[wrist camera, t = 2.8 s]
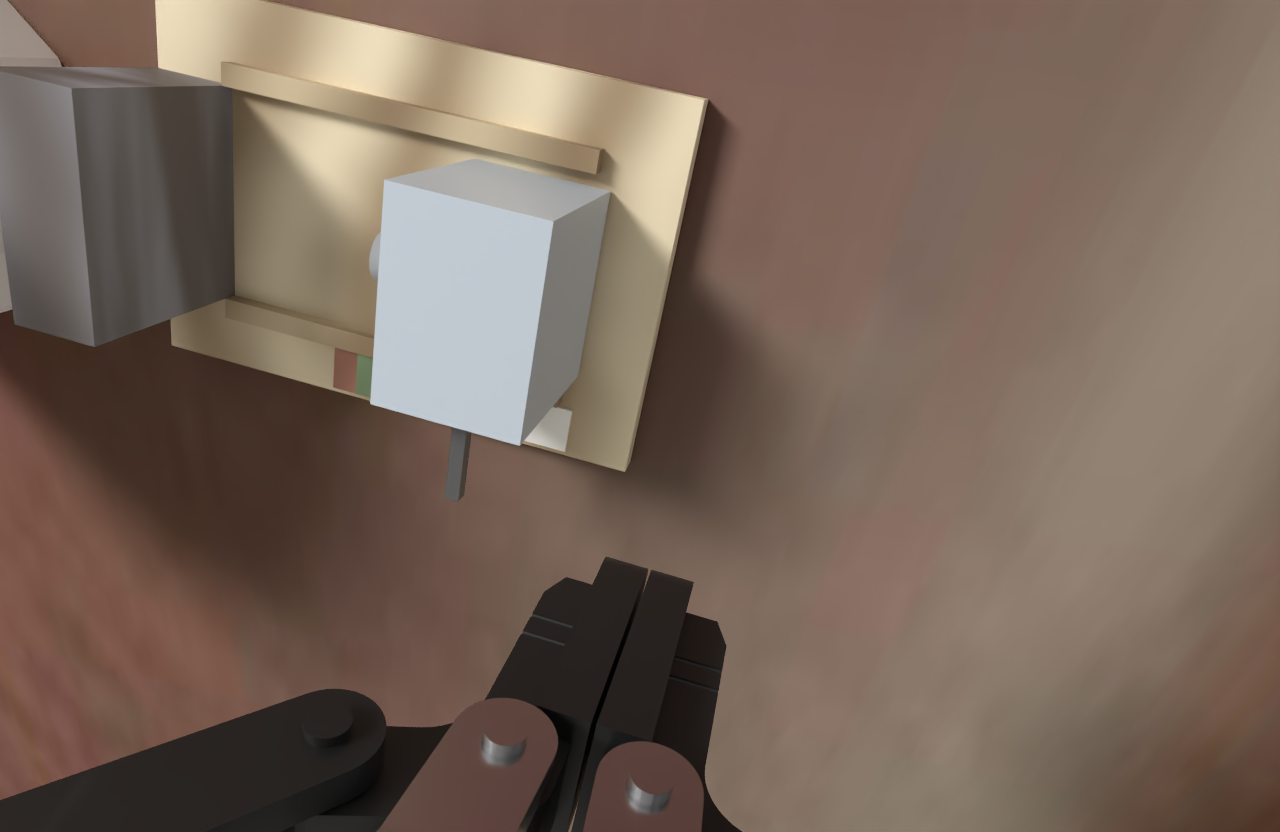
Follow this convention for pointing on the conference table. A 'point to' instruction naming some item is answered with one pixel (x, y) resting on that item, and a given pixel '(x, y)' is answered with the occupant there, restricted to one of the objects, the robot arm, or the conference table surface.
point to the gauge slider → (482, 298)
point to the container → (17, 44)
